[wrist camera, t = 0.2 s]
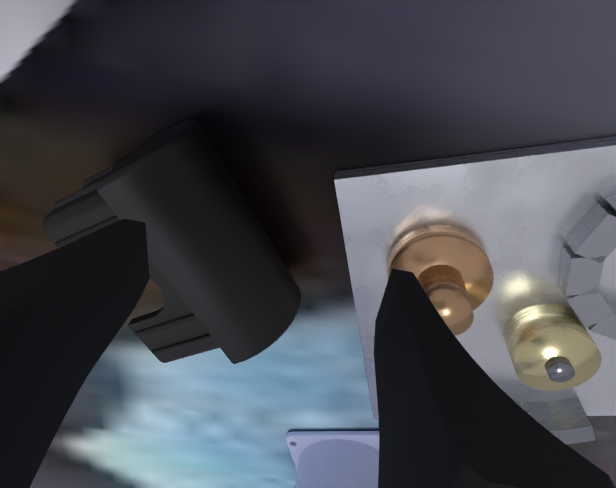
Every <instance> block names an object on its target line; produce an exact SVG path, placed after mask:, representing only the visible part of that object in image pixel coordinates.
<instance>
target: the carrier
mask: <svg viewBox="0 0 616 488" xmlns="http://www.w3.org/2000/svg"><path fill="white" fill-rule="evenodd" d="M334 182H335V188H336V194H337V200H338V206H339V212H340V218H341V224H342V230H343V236H344V242H345V248H346V254H347V260H348V266H349V272H350V278H351V284H352V290H353V296H354V302H355V308H356V314H357V320H358V326H359V332H360V338H361V344H362V351H363V357H364V363H365V369H366V375H367V381H368V387H369V393H370V399H371V405H372V411H373V417H374V419H379V416H378V403H377V390H376V377H375V363H374V336H375V321H376V317H377V314H378V311H379V308H380V305H381V301H382V298H383V295H384V292H385V289H386V285H387V282H388V275H387V262H388V258H389V255H390V253H391V250H392V249H393V247H394V246H395V245H396V243H397V242H398V241H399V240H400V239H402V238H403V237H404V236H405V235H407V234H408V233H410V232H412V231H414V230H416V229H419V228H422V227H425V226H430V225H451V226H456V227H459V228H462V229H464V230H466V231H468V232H470V233H471V234H473V235H474V236H475V237H476V238H477V239H478V240H479V241H480V242H481V244H482V245H483V247H484V249H485V252H486V254H487V256H488V259H489V261H490V264H491V266H492V269H493V275H494V280H493V286H492V289H491V291H490V293H489V295H488V297H487V298H486V300H485V301H484V302H483V303H482V304H481V305H480V306H479V307H478V308H476V309H475V310H473V314H474V320H473V323H472V325H471V326H470V328H469V329H468V330H467V331H465V332H464V333H462V334H460V335H457V336H455V337H456V338H457V339H458V341H459V342H460V343H461V345H462V346H463V347H464V348H465V350H466V351H467V352H468V353H469V355H470V356H471V357H472V358H473V359H474V360H475V361H476V363H477V364H478V365H479V366H480V367H481V368H482V369H483V370H484V371H485V372H486V374H487V375H488V376H489V377H490V378H491V379H492V380H493V381H494V382H495V383H496V384H497V385H498V386H499V387H500V388H501V389H502V390H503V391H504V392H505V393H506V394H507V395H508V396H509V397H510V398H512V399H513V400H514V401H515V402H516V403H517V404H518V405H519V406H520V407H521V408H522V409H523V410H525V411H526V412H527V413H528V414H529V415H530V416H531V417H533V418H534V419H535V420H536V421H537V422H539V423H540V424H541V425H542V426H543V427H545V428H546V429H547V430H548V431H550V432H551V433H552V434H553V435H555V436H556V437H557V438H558V439H559V440H561V441H562V442H563V443H565V444H573V443H580V442H587V441H594V440H595V437H594V432H593V428H592V425H591V423H590V421H589V419H588V417H587V416H616V136H612V137H604V138H596V139H588V140H580V141H572V142H564V143H556V144H548V145H541V146H533V147H525V148H517V149H509V150H501V151H493V152H485V153H478V154H470V155H462V156H454V157H446V158H438V159H430V160H422V161H415V162H407V163H399V164H391V165H383V166H375V167H367V168H359V169H352V170H344V171H336V172H335V178H334Z"/></svg>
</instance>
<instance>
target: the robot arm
mask: <svg viewBox="0 0 616 488" xmlns="http://www.w3.org/2000/svg"><path fill="white" fill-rule="evenodd" d="M149 278H150V277H149V264H148V251H147V237H146V224H145V222H140V221H135V220H130V219H123V220H120V221H117V222H115V223H113V224H110V225H108V226H106V227H104V228H102V229H100V230H97V231H95V232H93V233H91V234H89V235H87V236H85V237H82V238H80V239H78V240H76V241H74V242H72V243H69V244H67V245H65V246H63V247H61V248H58V249H56V250H54V251H51V252H49V253H46V254H44V255H42V256H39V257H37V258H34V259H32V260H30V261H27V262H25V263H22V264H20V265H17V266H14V267H11V268H9V269H6V270H3V271H0V488H30V485H31V483H32V481H33V479H34V477H35V475H36V473H37V471H38V469H39V467H40V465H41V463H42V461H43V458H44V456H45V454H46V452H47V450H48V448H49V446H50V444H51V442H52V440H53V438H54V436H55V434H56V432H57V431H58V429H59V427H60V425H61V423H62V421H63V419H64V417H65V415H66V413H67V411H68V409H69V408H70V406H71V404H72V402H73V400H74V399H75V397H76V395H77V393H78V391H79V390H80V388H81V386H82V384H83V382H84V381H85V379H86V377H87V376H88V374H89V373H90V371H91V370H92V368H93V367H94V365H95V364H96V362H97V361H98V359H99V358H100V357H101V355H102V354H103V352H104V351H105V349H106V348H107V347H108V345H109V344H110V342H111V341H112V340H113V338H114V337H115V335H116V334H117V332H118V331H119V330H120V328H121V327H122V325H123V324H124V322H125V321H126V320H127V318H128V317H129V315H130V314H131V312H132V311H133V309H134V308H135V306H136V304H137V302H138V301H139V299H140V297H141V295H142V293H143V291H144V289H145V287H146V285H147V282H148V280H149ZM374 363H375V377H376V390H377V403H378V416H379V431H312V432H288V433H287V434H286V442H287V444H288V447H289V450H290V453H291V456H292V459H293V462H294V465H295V467H296V470H297V477H296V484H295V488H615V486H614V484H613V483H612V481H611V479H610V477H609V475H608V474H606V473H605V472H603V471H602V470H601V469H599V468H598V467H596V466H595V465H594V464H592V463H591V462H590V461H588V460H587V459H585V458H584V457H583V456H581V455H580V454H578V453H577V452H576V451H574V450H573V449H572V448H570V447H569V446H567V445H566V444H565V443H563V442H562V441H561V440H559V439H558V438H557V437H556V436H555V435H553V434H552V433H551V432H550V431H548V430H547V429H546V428H545V427H543V426H542V425H541V424H540V423H539V422H537V421H536V420H535V419H534V418H533V417H531V416H530V415H529V414H528V413H527V412H526V411H525V410H523V409H522V408H521V407H520V406H519V405H518V404H517V403H516V402H515V401H514V400H513V399H512V398H510V397H509V396H508V395H507V394H506V393H505V392H504V391H503V390H502V389H501V388H500V387H499V386H498V385H497V384H496V383H495V382H494V381H493V380H492V379H491V378H490V377H489V376H488V375H487V374H486V372H485V371H484V370H483V369H482V368H481V367H480V366H479V365H478V364H477V363H476V361H475V360H474V359H473V358H472V357H471V356H470V355H469V353H468V352H467V351H466V350H465V348H464V347H463V346H462V345H461V343H460V342H459V341H458V339H457V338H456V337H455V336H454V334H453V333H452V332H451V330H450V329H449V328H448V326H447V325H446V323H445V322H444V320H443V319H442V317H441V316H440V314H439V313H438V311H437V310H436V308H435V307H434V305H433V304H432V302H431V300H430V299H429V297H428V296H427V294H426V292H425V291H424V289H423V287H422V286H421V284H420V283H419V281H418V279H417V278H416V276H415V275H414V273H413V272H409V271H404V270H398V269H393V268H392V269H391V273H390V276H389V279H388V282H387V285H386V289H385V292H384V295H383V298H382V301H381V305H380V308H379V311H378V314H377V317H376V321H375V336H374Z"/></svg>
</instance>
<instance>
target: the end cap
mask: <svg viewBox="0 0 616 488" xmlns="http://www.w3.org/2000/svg"><path fill="white" fill-rule="evenodd" d="M123 219H130V220H135V221H140V222H145V224H146V237H147V251H148V264H149V277H150V278H151V279H152V280H153V281H154V282H155V283H156V284H157V285H158V286H159V288H160V289H161V291H162V293H163V296H164V307H162V308H161V309H159V310H157V311H155V312H152V313H149V314H146V315H143V316H140V317H137V318H134V319H132V320H131V322H130V323H129V325H128V326H129V327H130V328H131V329H132V331H133V332H134V333H135V334H136V335H137V336H138V337H139V338H140V339H141V341H142V342H143V343H144V344H145V345H146V346H147V347H148V348H149V350H150V351H151V352H152V353H153V354H154V355H155V356H156V357H157V358H158V360H160V361H161V362H163V363H167V362H170V361H174V360H177V359H181V358H184V357H188V356H191V355H195V354H199V353H202V352H206V351H209V350H213V349H216V348H221V349H222V351H223V352H224V353H225V354H226V356H227V357H228V358H229V360H230V361H231V362H232V363H233V364H236V363H239V362H242V361H245V360H247V359H249V358H251V357H253V356H255V355H257V354H259V353H260V352H262V351H263V350H265V349H266V348H268V347H269V346H270V345H272V344H273V343H274V342H275V341H276V340H278V339H279V338H280V336H281V335H282V334H283V333H284V332H285V331H286V330H287V329H288V327H289V326H290V325H291V323H292V322H293V320H294V318H295V316H296V314H297V313H298V310H299V307H300V301H301V294H300V290H299V287H298V285H297V284H296V282H295V280H294V279H293V277H292V276H291V274H290V272H289V271H288V269H287V267H286V266H285V264H284V262H283V261H282V259H281V257H280V256H279V254H278V252H277V251H276V249H275V248H274V246H273V244H272V243H271V241H270V239H269V238H268V236H267V234H266V233H265V231H264V229H263V228H262V226H261V225H260V223H259V221H258V220H257V218H256V216H255V215H254V213H253V211H252V210H251V208H250V206H249V205H248V203H247V201H246V200H245V198H244V197H243V195H242V193H241V192H240V190H239V188H238V187H237V185H236V183H235V182H234V180H233V178H232V177H231V175H230V174H229V172H228V170H227V169H226V167H225V165H224V164H223V162H222V160H221V159H220V157H219V155H218V154H217V152H216V151H215V149H214V147H213V146H212V144H211V142H210V141H209V139H208V137H207V136H206V134H205V132H204V131H203V129H202V127H201V126H200V124H199V123H198V122H197V121H196V120H193V119H189V120H184V121H181V122H179V123H176V124H174V125H172V126H169V127H167V128H165V129H163V130H161V131H159V132H157V133H156V134H155V135H154V136H152V137H151V138H150V139H149V140H147V141H146V142H145V143H144V144H143V145H141V146H140V147H139V148H138V149H136V150H135V151H134V152H133V153H131V154H130V155H129V156H128V157H126V158H125V159H123V160H121V161H119V162H117V163H116V164H115V165H113V166H111V167H109V168H107V169H105V170H103V171H101V172H99V173H97V174H95V175H93V176H91V177H89V178H87V179H85V180H84V183H83V187H82V188H81V189H80V190H79V191H77V192H75V193H73V194H71V195H69V196H67V197H65V198H63V199H61V200H59V201H57V202H55V204H54V210H53V211H52V212H50V213H49V214H48V215H47V216H46V217H45V218H44V220H43V228H44V231H45V233H46V234H47V236H48V237H49V238H50V239H51V240H52V241H53V242H54V244H55V245H56V246H57V247H58V248H61V247H63V246H65V245H67V244H69V243H72V242H74V241H76V240H78V239H80V238H82V237H85V236H87V235H89V234H91V233H93V232H95V231H97V230H100V229H102V228H104V227H106V226H108V225H110V224H113V223H115V222H117V221H120V220H123Z"/></svg>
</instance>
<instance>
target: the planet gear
mask: <svg viewBox="0 0 616 488" xmlns="http://www.w3.org/2000/svg"><path fill="white" fill-rule="evenodd" d="M392 268H393V269H398V270H404V271H409V272H413V273H414V275H415V276H416V278H417V279H418V281H419V283H420V284H421V286H422V287H423V289H424V291H425V292H426V294H427V296H428V297H429V299H430V300H431V302H432V304H433V305H434V307H435V308H436V310H437V311H438V313H439V314H440V316H441V317H442V319H443V320H444V322H445V323H446V325H447V326H448V328H449V329H450V330H451V332H452V333H453V334H454V336H457V335H460V334H462V333H464V332H465V331H467V330H468V329H469V328H470V326H471V325H472V323H473V320H474V314H473V310H475V309H476V308H478V307H479V306H480V305H481V304H482V303H483V302H484V301H485V300H486V298H487V297H488V295H489V293H490V291H491V289H492V286H493V280H494V275H493V269H492V266H491V264H490V261H489V259H488V256H487V254H486V252H485V249H484V247H483V245H482V244H481V242H480V241H479V240H478V239H477V238H476V237H475V236H474V235H473V234H471V233H470V232H468V231H466V230H464V229H462V228H459V227H456V226H451V225H430V226H425V227H422V228H419V229H416V230H414V231H412V232H410V233H408V234H407V235H405V236H404V237H403V238H402V239H400V240H399V241H398V242H397V243H396V245H395V246H394V247H393V249H392V250H391V253H390V255H389V258H388V262H387V275H388V279H389V276H390V273H391V269H392Z"/></svg>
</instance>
